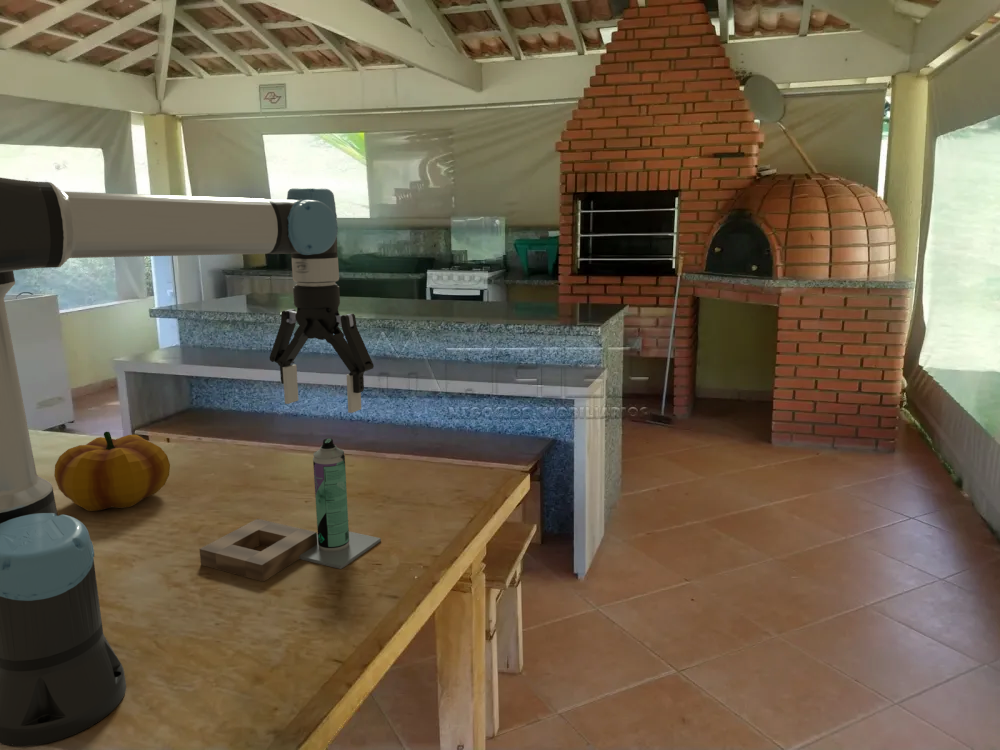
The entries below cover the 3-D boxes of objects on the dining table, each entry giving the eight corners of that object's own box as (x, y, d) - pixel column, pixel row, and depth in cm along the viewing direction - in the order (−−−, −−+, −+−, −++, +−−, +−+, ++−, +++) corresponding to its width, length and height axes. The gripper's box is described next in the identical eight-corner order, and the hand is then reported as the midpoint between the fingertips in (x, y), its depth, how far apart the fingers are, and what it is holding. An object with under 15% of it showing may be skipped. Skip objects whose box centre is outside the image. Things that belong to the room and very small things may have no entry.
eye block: (263, 581, 124) (261, 565, 123) (201, 564, 130) (199, 548, 129) (317, 547, 136) (316, 532, 136) (258, 533, 142) (257, 518, 142)
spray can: (345, 536, 139) (339, 433, 135) (352, 548, 135) (347, 442, 130) (315, 542, 137) (309, 437, 133) (321, 554, 132) (315, 446, 128)
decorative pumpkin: (34, 516, 151) (23, 445, 147) (114, 478, 171) (106, 415, 168) (120, 526, 146) (111, 452, 142) (191, 485, 167) (184, 421, 163)
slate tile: (340, 569, 128) (340, 565, 128) (286, 555, 133) (285, 552, 133) (380, 541, 139) (380, 538, 139) (328, 529, 144) (328, 526, 144)
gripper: (242, 282, 127) (252, 403, 132) (364, 289, 116) (369, 420, 121) (273, 278, 134) (281, 393, 138) (391, 284, 123) (395, 409, 128)
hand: (322, 406), depth 130 cm, fingers open, 13 cm apart
